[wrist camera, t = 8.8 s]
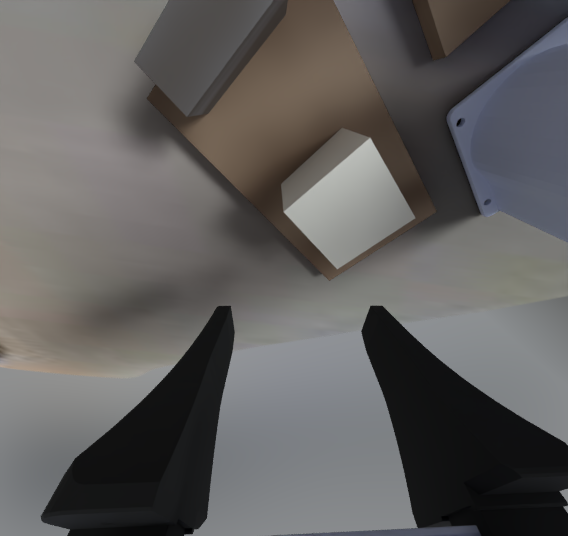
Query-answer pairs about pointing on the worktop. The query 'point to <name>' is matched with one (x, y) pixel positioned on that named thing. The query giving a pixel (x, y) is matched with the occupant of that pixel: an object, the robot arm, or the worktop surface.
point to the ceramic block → (345, 198)
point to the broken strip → (452, 21)
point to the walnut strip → (271, 99)
